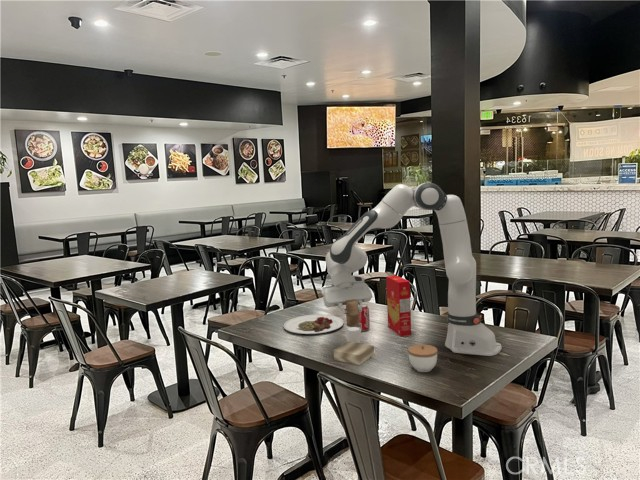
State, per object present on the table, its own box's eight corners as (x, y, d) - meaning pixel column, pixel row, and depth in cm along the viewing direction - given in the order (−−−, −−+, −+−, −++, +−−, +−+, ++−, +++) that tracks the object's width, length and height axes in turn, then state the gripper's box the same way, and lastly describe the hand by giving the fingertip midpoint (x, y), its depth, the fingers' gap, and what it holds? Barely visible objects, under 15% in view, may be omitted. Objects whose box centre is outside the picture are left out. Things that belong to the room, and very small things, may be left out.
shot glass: (353, 340, 214) (352, 325, 213) (364, 343, 209) (364, 328, 208) (342, 344, 209) (342, 329, 209) (354, 348, 205) (353, 332, 204)
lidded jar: (412, 375, 174) (411, 351, 173) (405, 364, 184) (405, 341, 183) (441, 373, 174) (441, 349, 173) (433, 362, 185) (432, 339, 184)
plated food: (273, 334, 229) (273, 327, 229) (298, 316, 257) (298, 310, 257) (332, 339, 218) (331, 332, 218) (351, 319, 246) (351, 313, 246)
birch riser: (374, 354, 196) (374, 345, 195) (359, 365, 186) (359, 355, 185) (349, 350, 203) (349, 341, 202) (334, 359, 193) (333, 350, 192)
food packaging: (388, 326, 230) (386, 276, 227) (398, 325, 232) (396, 275, 228) (400, 336, 216) (398, 282, 213) (411, 334, 217) (409, 281, 214)
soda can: (369, 327, 232) (368, 303, 230) (369, 331, 225) (368, 307, 223) (355, 327, 232) (354, 303, 231) (354, 332, 225) (353, 307, 224)
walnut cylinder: (361, 324, 193) (360, 300, 192) (354, 327, 189) (353, 303, 188) (350, 322, 196) (349, 298, 195) (344, 325, 192) (343, 301, 191)
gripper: (320, 282, 194) (329, 312, 186) (367, 276, 200) (377, 305, 192) (318, 291, 198) (326, 320, 190) (363, 285, 205) (373, 313, 197)
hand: (352, 312), depth 191 cm, fingers closed on walnut cylinder, 5 cm apart
